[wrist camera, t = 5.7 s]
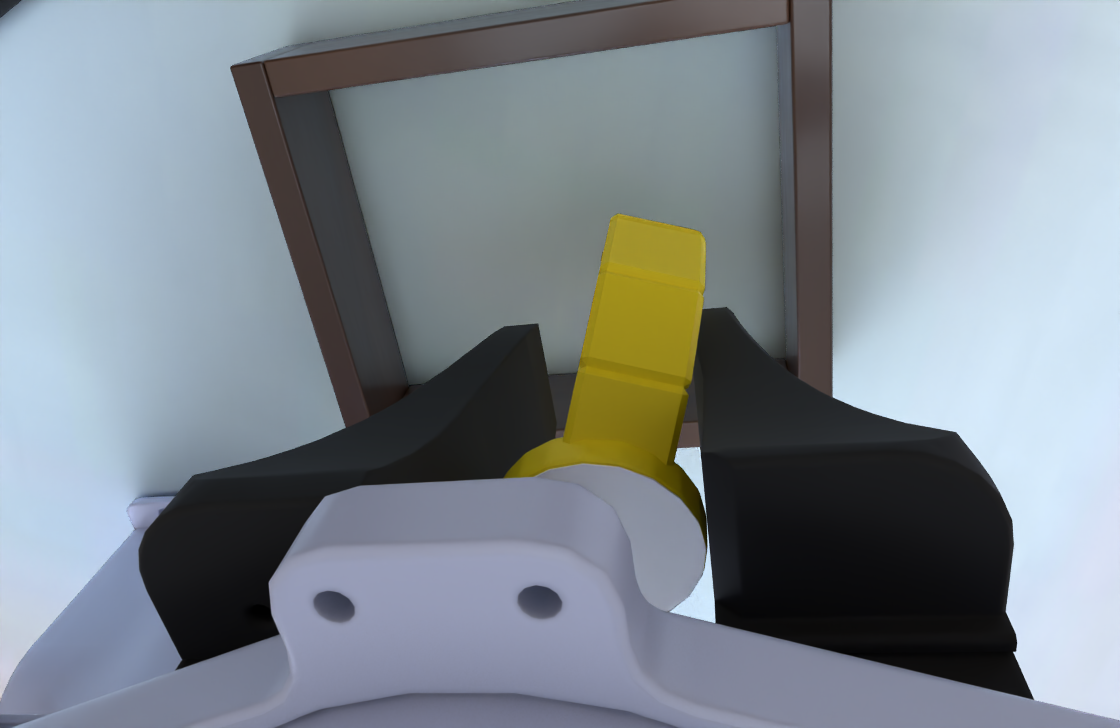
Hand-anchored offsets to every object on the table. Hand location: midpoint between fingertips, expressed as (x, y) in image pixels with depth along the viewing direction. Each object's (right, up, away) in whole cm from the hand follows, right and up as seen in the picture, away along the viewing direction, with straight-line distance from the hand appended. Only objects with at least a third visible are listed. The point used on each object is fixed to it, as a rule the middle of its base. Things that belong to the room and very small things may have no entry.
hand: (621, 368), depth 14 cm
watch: (0, +1, +1) cm, 2 cm away
